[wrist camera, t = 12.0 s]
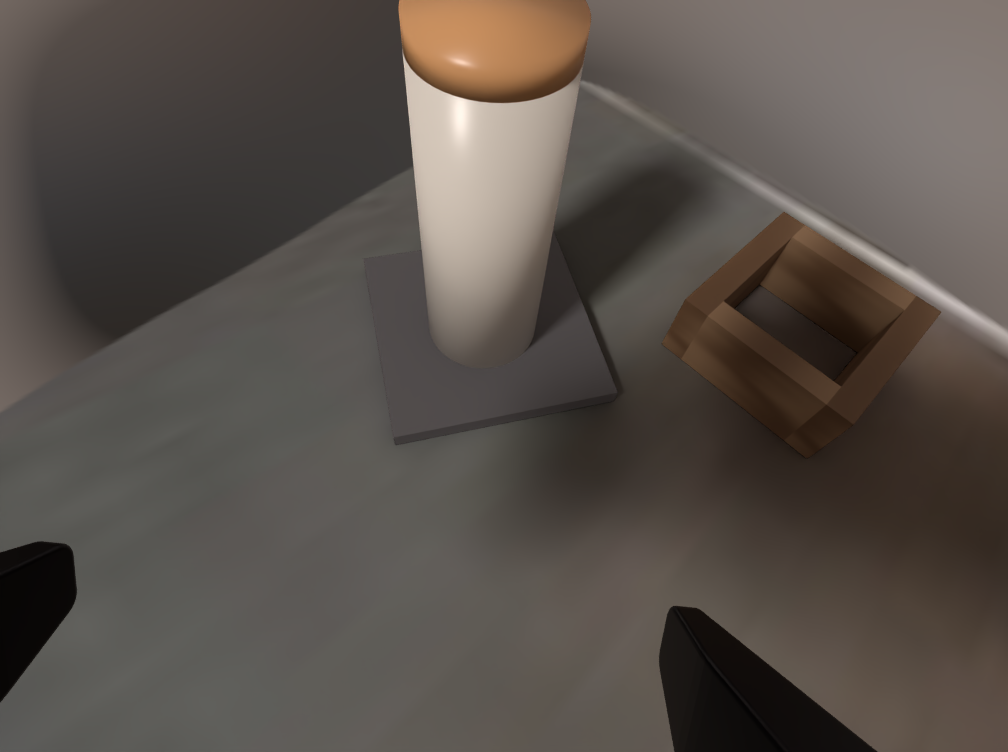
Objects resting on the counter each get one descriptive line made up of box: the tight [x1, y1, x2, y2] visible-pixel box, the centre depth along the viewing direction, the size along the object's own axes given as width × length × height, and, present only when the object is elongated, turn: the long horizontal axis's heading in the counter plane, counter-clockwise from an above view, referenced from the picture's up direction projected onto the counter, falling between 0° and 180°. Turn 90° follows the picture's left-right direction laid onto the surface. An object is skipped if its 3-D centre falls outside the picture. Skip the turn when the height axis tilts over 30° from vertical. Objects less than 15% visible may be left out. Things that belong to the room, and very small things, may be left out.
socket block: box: [662, 212, 941, 459], centre depth 27 cm, size 8×8×4 cm
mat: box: [364, 231, 618, 445], centre depth 27 cm, size 10×10×1 cm
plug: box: [399, 0, 591, 368], centre depth 21 cm, size 5×5×14 cm
